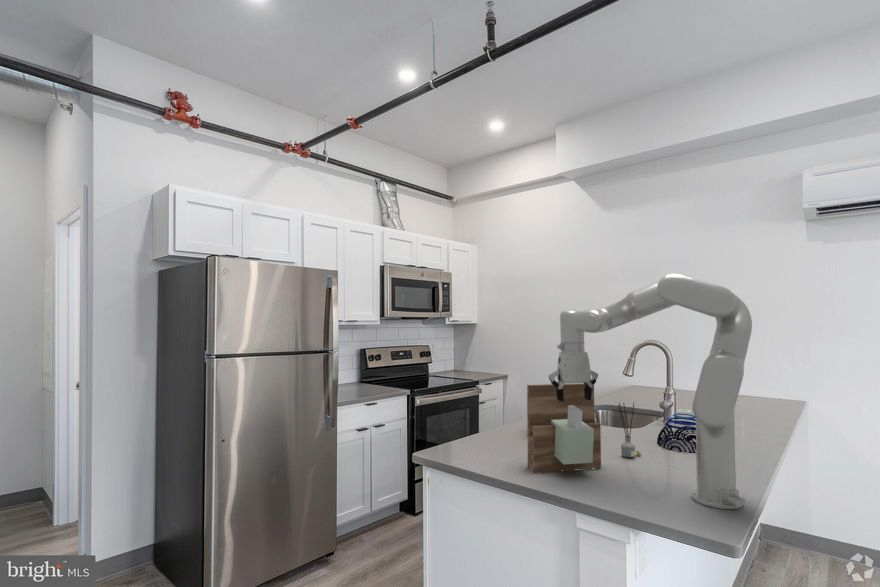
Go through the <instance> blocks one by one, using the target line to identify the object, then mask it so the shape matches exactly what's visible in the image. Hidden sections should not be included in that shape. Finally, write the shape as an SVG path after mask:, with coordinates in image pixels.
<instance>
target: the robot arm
mask: <svg viewBox="0 0 880 587" xmlns="http://www.w3.org/2000/svg"><path fill="white" fill-rule="evenodd" d="M674 306H679V307H682V308H685V309H689V310H691V311H694V312H698V313H700V314H704V315H706V316H709V317H713V318H715V321H716V326H715V331H714V336H713V341H712V344H711V347H710V348H711V349H710V351H709V353H708V356H707V357H706V358H705V360H704V362H703V365H702V367H701V370H700V375H699V378H698V383H697V386H696V389H695V390H696V391H695V393H694V397H693V402H692V406H691V407H692V412H693V415H694V416H695V417H696V421H695V422H696V425H695V427H696V431H695V432H696V434H695V435H696V440H695V442H696V443H695V444H696V449H695V452H696V454H695V456H696V458H695V460H696V489H693V490H692V491H691V493H690V497H691V499H693V500H694V501H695V502H697V503H698V504H700V505H703V506H707V507H710V508H713V509H718V510H719V509H720V510H721V509H722V510H738V509H740V508H742V507H743V506H744V504H746V499H745V498H743V497H742V496H740V493H739V492H740V490H739V489H737V481H736V479H737V478H736V477H737V476H736V437H735V436H736V432H735V430H736V429H735V426H736V424H735V422H736V420H735V414H736V412H735V409H736V405H737V401H738V398H739V394H740V391H741V387H742V383H743V379H744V373H745V361H746V357H747V353H748V349H749V344H750V340H751V335H752V331H753V330H752V329H753V319H752V315H751V312H750V310H749V308H748V307H747V306H748V305H746V303H745V302H744V301H743V300H742V299H741V298H740V297H739V296H738V295H737V294H735V293H734V292H732V290H730V289H729V288H726V287H724V286H721V285H717V284H714V283H710V282H707V281H703V280H701V279H696V278H693V277H690V276H687V275H684V274H681V273H678V272H673V273H667V274H665V275H664V276H663V277H661V278H660V279H659V280H657V281H655V282H652V283H651V284H647V285H646V286H643V287H641V288H638V289H634V290H633V291H630V293H628V294H627V295H625V297H624V298H622V299H621V300H619V301H616V302H615V303H612V304H609V305H607V306H605V307H603V308H599V309H585V310H563V311H561V313H559V314H560V315H559V322H560V323H559V326H560V327H559V328H560V344H557V346H556V348H557V350H560V352H559V354H558V358H557V369H556V370H555V371H553V372H552V373H550V374H549V375H548V380H549V381H550V384H553V385H554V386H555V388H556V393H557V399H558V401H561V402H563V401H564V391H563V389H562V387H563V386H564V384H580V383H584V384H585V385H586V387H584V396H585V399H587V400H591V397H592V387H593V385H594V386H595V384H596V383H597V380H598V377H599V373H597V372H596V371H593V370H592V369H591V365H590V363H591V362H590V358H589V355H588V354H589V353H588V352H587V351H586V350H585V333H589V334H591V333H592V334H595V333H596V334H597V333H603V332H607V331H609V330H612V329H615V328H617V327H620V326H623V325H625V324H629V323H630V322H633V321H637V320H641V319H642V318H644V317H648V316H650V315H653V314H655V313H658V312H660V311H663V310H667V309H669V308H672V307H674ZM556 377H557V381H556Z"/></svg>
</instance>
